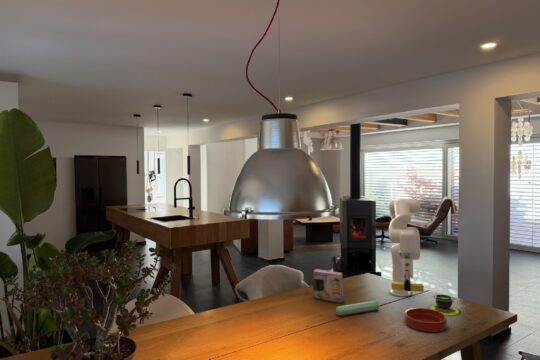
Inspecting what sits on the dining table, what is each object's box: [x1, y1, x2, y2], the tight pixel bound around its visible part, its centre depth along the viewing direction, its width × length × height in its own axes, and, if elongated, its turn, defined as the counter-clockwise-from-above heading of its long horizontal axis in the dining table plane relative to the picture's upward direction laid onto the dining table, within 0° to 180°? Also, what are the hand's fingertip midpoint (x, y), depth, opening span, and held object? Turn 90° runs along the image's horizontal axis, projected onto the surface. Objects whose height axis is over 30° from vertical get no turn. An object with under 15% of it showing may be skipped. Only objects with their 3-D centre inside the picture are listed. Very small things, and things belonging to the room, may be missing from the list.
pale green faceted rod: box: [335, 299, 380, 317], centre depth 208 cm, size 6×6×25 cm
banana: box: [391, 280, 425, 293], centre depth 200 cm, size 5×16×3 cm, turn 70°
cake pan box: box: [312, 268, 345, 304], centre depth 229 cm, size 19×5×18 cm, turn 53°
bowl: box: [404, 307, 448, 333], centre depth 190 cm, size 20×20×5 cm
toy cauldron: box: [428, 291, 460, 316], centre depth 209 cm, size 15×15×11 cm
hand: (407, 289), depth 199 cm, fingers closed on banana, 3 cm apart
